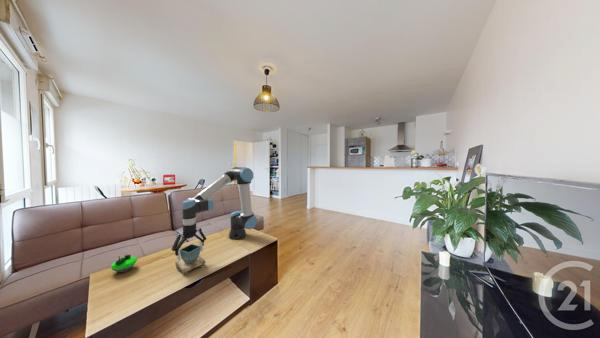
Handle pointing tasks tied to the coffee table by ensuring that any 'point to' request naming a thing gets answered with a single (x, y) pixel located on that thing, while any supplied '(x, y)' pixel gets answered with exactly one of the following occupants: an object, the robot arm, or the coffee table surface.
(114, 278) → the coffee table surface
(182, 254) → the flower pot
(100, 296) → the coffee table surface
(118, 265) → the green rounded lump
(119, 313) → the coffee table surface
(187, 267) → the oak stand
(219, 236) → the coffee table surface
